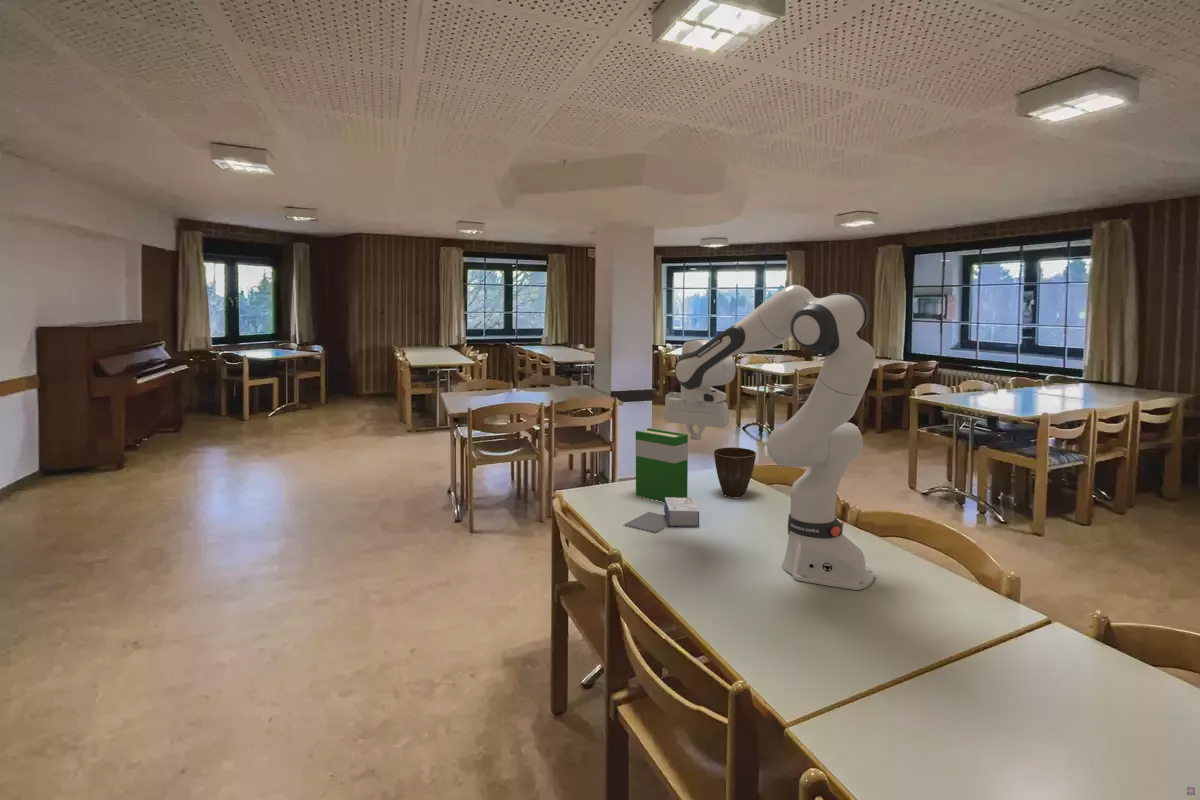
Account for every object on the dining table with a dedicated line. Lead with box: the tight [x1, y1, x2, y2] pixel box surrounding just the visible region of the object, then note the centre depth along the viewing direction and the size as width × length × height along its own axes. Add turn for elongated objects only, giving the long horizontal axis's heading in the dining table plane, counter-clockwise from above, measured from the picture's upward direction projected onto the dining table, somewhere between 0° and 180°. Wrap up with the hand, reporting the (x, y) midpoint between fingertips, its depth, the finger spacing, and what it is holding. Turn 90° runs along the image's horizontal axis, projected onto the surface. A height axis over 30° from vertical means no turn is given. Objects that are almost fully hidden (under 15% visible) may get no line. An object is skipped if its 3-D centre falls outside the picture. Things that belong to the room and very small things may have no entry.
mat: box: [623, 511, 669, 534], centre depth 205 cm, size 12×15×1 cm
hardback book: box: [635, 427, 689, 503], centre depth 229 cm, size 18×7×24 cm, turn 46°
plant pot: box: [713, 446, 757, 498], centre depth 232 cm, size 15×15×16 cm
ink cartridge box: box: [663, 497, 700, 527], centre depth 207 cm, size 10×6×14 cm
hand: (695, 439), depth 192 cm, fingers closed
